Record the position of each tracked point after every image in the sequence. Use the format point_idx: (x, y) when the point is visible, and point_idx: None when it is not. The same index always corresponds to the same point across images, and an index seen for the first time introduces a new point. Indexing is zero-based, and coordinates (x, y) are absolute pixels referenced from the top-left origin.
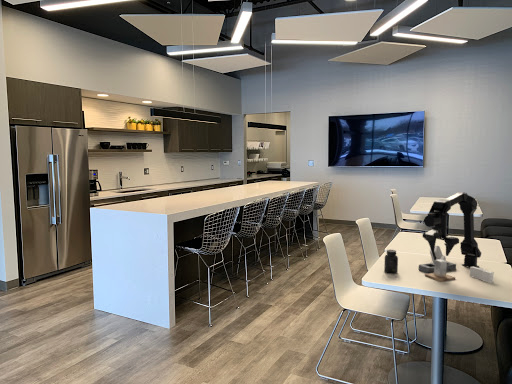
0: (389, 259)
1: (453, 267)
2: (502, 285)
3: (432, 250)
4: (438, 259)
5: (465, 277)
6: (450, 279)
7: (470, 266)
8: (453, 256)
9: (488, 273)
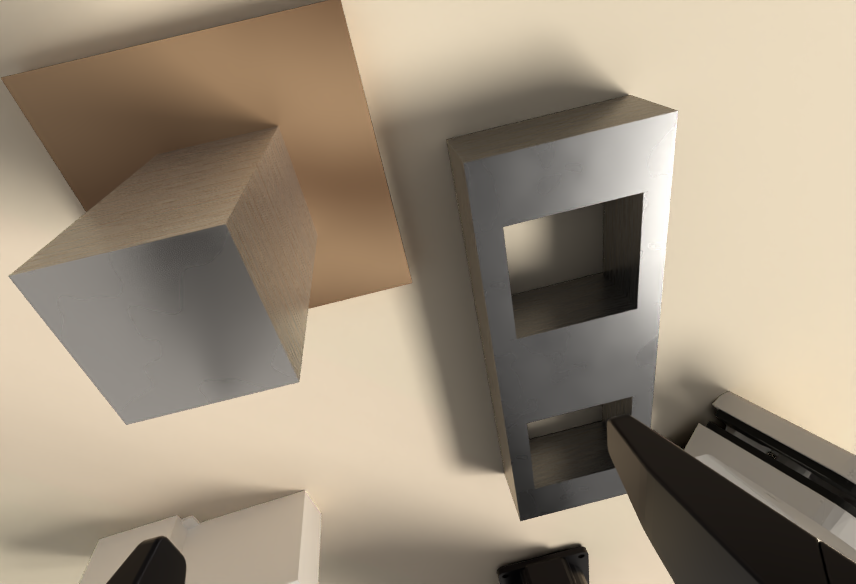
0: None
1: (507, 473)
2: (27, 578)
3: (624, 451)
4: (724, 458)
5: (258, 443)
6: None
7: (519, 576)
8: None
9: None
